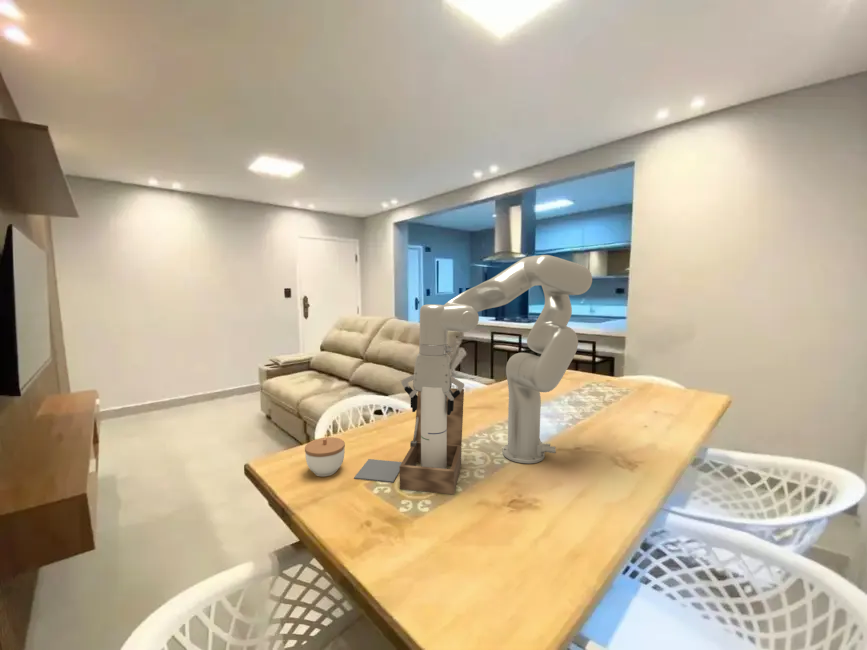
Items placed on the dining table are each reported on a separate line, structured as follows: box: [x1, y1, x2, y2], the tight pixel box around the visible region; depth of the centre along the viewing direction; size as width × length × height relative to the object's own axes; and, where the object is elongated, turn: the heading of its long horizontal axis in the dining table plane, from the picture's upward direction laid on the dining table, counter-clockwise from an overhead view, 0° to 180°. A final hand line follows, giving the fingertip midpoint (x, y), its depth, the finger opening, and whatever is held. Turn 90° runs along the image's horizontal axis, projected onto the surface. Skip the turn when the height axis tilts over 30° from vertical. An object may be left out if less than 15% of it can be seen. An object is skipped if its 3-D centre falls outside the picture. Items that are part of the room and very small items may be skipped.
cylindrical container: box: [420, 387, 448, 469], centre depth 103 cm, size 7×7×25 cm
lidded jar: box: [304, 436, 346, 478], centre depth 104 cm, size 11×11×9 cm
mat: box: [353, 458, 402, 484], centre depth 105 cm, size 11×11×1 cm
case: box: [399, 387, 465, 495], centre depth 104 cm, size 14×22×21 cm, turn 169°
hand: (431, 412), depth 102 cm, fingers open, 9 cm apart
